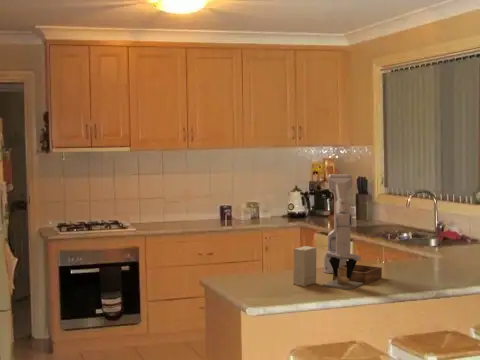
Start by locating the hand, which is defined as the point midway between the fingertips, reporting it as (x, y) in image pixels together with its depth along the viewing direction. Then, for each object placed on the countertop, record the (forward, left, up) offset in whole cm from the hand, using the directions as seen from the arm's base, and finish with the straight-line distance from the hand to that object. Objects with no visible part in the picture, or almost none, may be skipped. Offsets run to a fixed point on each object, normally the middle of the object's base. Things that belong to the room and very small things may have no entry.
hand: (342, 277), depth 293 cm
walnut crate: (-1, +15, -3) cm, 15 cm away
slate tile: (0, 0, -3) cm, 3 cm away
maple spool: (0, 0, -2) cm, 2 cm away
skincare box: (-14, -6, -4) cm, 16 cm away
